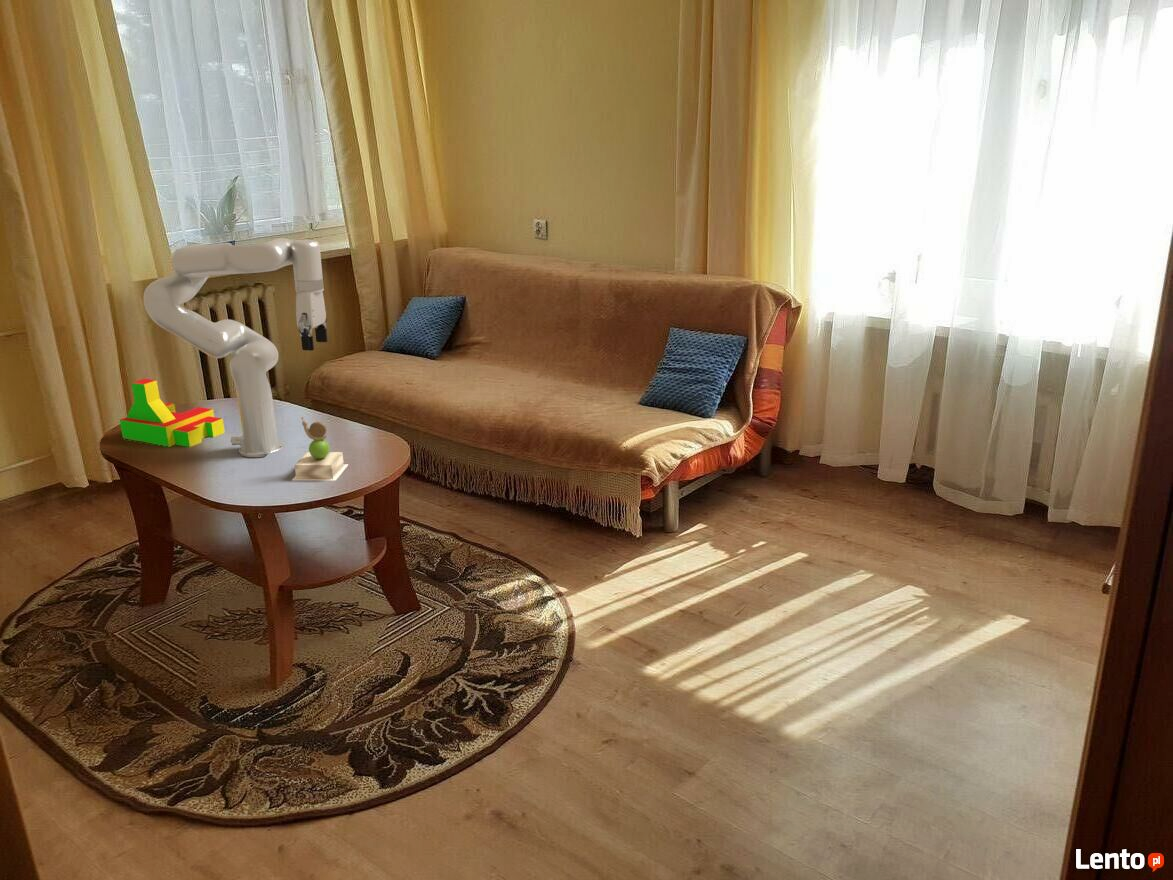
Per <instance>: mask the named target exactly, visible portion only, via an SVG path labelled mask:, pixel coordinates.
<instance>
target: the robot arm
mask: <svg viewBox="0 0 1173 880" xmlns="http://www.w3.org/2000/svg"><path fill="white" fill-rule="evenodd" d="M171 265H172V266H171V267H173V270H174V271H173V273H172V274H169V275H167V276H164V277H161V278H157V279H156V280H154V281H152V282H150V283H149V285H148V286H147V287H146V288H145V289H144V293H143V297H142V298H143V305H144V306H143V307H144V309H145V311H146V313H147V315H148V316H149V318H150V319H151V320H152V322H154V323H155V324H156V325H157V326H159V327H160V328H162V329H163V330H165V331H167V332H169V333H170V334H172V335H174V336H176V337H178V338H179V339H181V340H182V341H184V342H185V343H188V344H189V345H190V346H192V347H194V348H195V349H197V350H199V351H200V352H201V353H204V354H206V355H207V356H209V357H211V358H213V359H222V358H225V357H227V356H228V355H231V354H232V355H231V357H230V360H229V370H230V375H231V377H232V380H233V384H234V387H235V393H236V398H237V403H238V413H239V419H240V427H241V430H242V431H241V433H242V435H241V436H231V437H230V443H231V445H232V446H240V447H239V454H240V455H241V456H243V457H247V458H264V457H266V456H268V455H269V454H270V453H274V452H278V451H280V450H281V449H282V448H285V443H284V442H283V441H281V440H279V438H278V429H277V423H276V416H275V415H276V414H275V408H274V400H273V393H272V389H271V384H270V382H269V380H268V377H267V372H268V371H269V370H271V369H273V368H274V367H275V366H276V364H277V363H278V361H279V351H278V349H277V347H276V345H275V344H274V343H273V342H272V341H271V340H270V339H268V338H266V337H265V336H263V335H261V334H260V333H258V332H256V331H255V330H253V329H251V328H250V327H248V326H246V325H245V324H243V323H241V322H239V321H236V320H235V319H229V318H228V319H225V318H224V319H222V320H219V321H216V322H213V321H212V320H209V319H207V318H205V317H204V316H202V315H200V314H199V313H198V312H196V311H193V310H190V309H188V308H185V307H183V306H181V305H183V304H185V303H188V302H190V301H191V300H192V299H193V298H194V297H195V296H196V295H197V294H198V293H199V291H200V289H201V288H202V287H203V285H204V284H205V283H206V281H207V280H208V279H209V277H210V276H211V277H212V276H222V275H237V274H241V275H242V274H253V273H254V274H255V273H266V272H267V273H268V272H273V271H277V270H280V269H281V268H284V267H287V266H289V265H292V267H293V276H294V277H293V278H294V288H295V292H296V294H295V295H296V296H295V313H296V325H297V328H298V332H299V336H300V339H301V350H302V351H310V352H311V351H314V350H315V345H314V343H315V342H314V336H313V335H312V334H313V329H314V330H315V332H314V333H315V341H316V342H317V343H328V340H329V339H328V332H327V327H328V326H327V320H328V319H327V310H326V305H325V297H324V293H323V292H324V291H325V288H324V278H323V277H324V275H323V268H322V267H323V266H322V256H321V245H320V243H319V241H317V240H314V239H298V240H297V239H293V238H292V239H290V238H285V237H278V238H275V239H271V240H268V241H266V242H262V243H255V244H243V245H233V244H232V243H231V242H218V243H211V244H210V243H209V244H206V243H202V242H200V243H194V244H190V245H186V246H183V247H180V248H178V249H177V250H176V251H175V252H174V253H173V255H172V258H171Z"/></svg>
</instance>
